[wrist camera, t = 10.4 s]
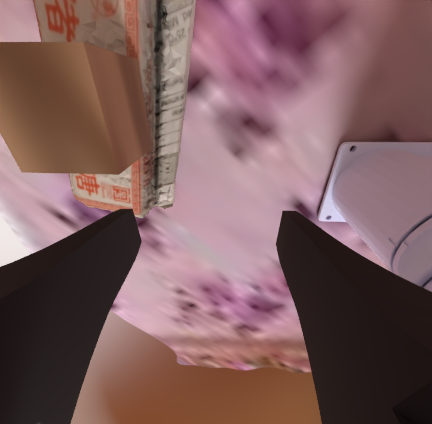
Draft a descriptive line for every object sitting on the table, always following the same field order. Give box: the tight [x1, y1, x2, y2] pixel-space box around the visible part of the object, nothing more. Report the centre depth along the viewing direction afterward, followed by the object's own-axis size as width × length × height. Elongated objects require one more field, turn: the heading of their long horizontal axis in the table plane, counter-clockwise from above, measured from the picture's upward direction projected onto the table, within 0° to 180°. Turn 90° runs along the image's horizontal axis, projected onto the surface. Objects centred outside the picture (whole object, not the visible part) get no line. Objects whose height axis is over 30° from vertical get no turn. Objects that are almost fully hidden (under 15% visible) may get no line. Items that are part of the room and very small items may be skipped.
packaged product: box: [33, 0, 196, 218], centre depth 15 cm, size 18×5×10 cm
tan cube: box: [0, 42, 152, 175], centre depth 11 cm, size 5×5×5 cm
